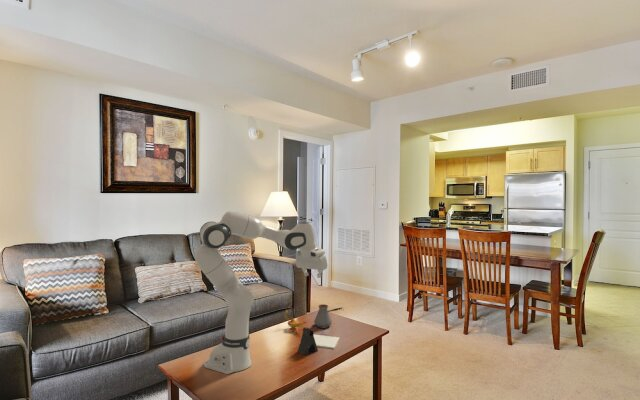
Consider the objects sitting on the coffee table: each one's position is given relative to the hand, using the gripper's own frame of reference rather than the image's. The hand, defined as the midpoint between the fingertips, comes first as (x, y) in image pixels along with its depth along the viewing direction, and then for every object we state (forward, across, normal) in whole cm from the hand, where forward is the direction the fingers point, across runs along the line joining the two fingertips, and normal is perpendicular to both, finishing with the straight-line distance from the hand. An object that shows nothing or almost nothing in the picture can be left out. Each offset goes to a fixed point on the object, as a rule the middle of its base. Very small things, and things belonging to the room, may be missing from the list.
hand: (313, 276), depth 179 cm
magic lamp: (+40, -30, +7) cm, 51 cm away
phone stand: (+39, -4, -9) cm, 40 cm away
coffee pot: (+44, -18, +24) cm, 53 cm away
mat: (+41, -8, +5) cm, 42 cm away
